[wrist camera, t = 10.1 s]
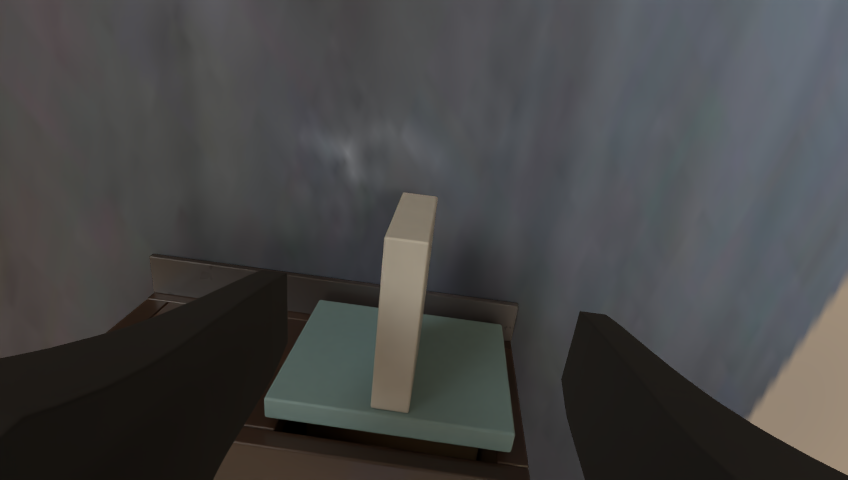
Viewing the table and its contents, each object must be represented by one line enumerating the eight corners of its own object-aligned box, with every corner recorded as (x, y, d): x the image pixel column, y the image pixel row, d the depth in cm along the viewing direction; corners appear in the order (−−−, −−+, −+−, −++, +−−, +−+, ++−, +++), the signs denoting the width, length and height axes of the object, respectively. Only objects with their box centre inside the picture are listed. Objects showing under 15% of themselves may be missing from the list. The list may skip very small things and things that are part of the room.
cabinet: (479, 483, 25) (484, 659, 18) (177, 438, 25) (65, 591, 18) (517, 303, 20) (544, 441, 13) (153, 253, 21) (-5, 361, 14)
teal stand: (498, 339, 20) (511, 454, 15) (318, 314, 21) (263, 418, 15) (529, 192, 18) (557, 262, 12) (322, 165, 18) (257, 223, 12)
